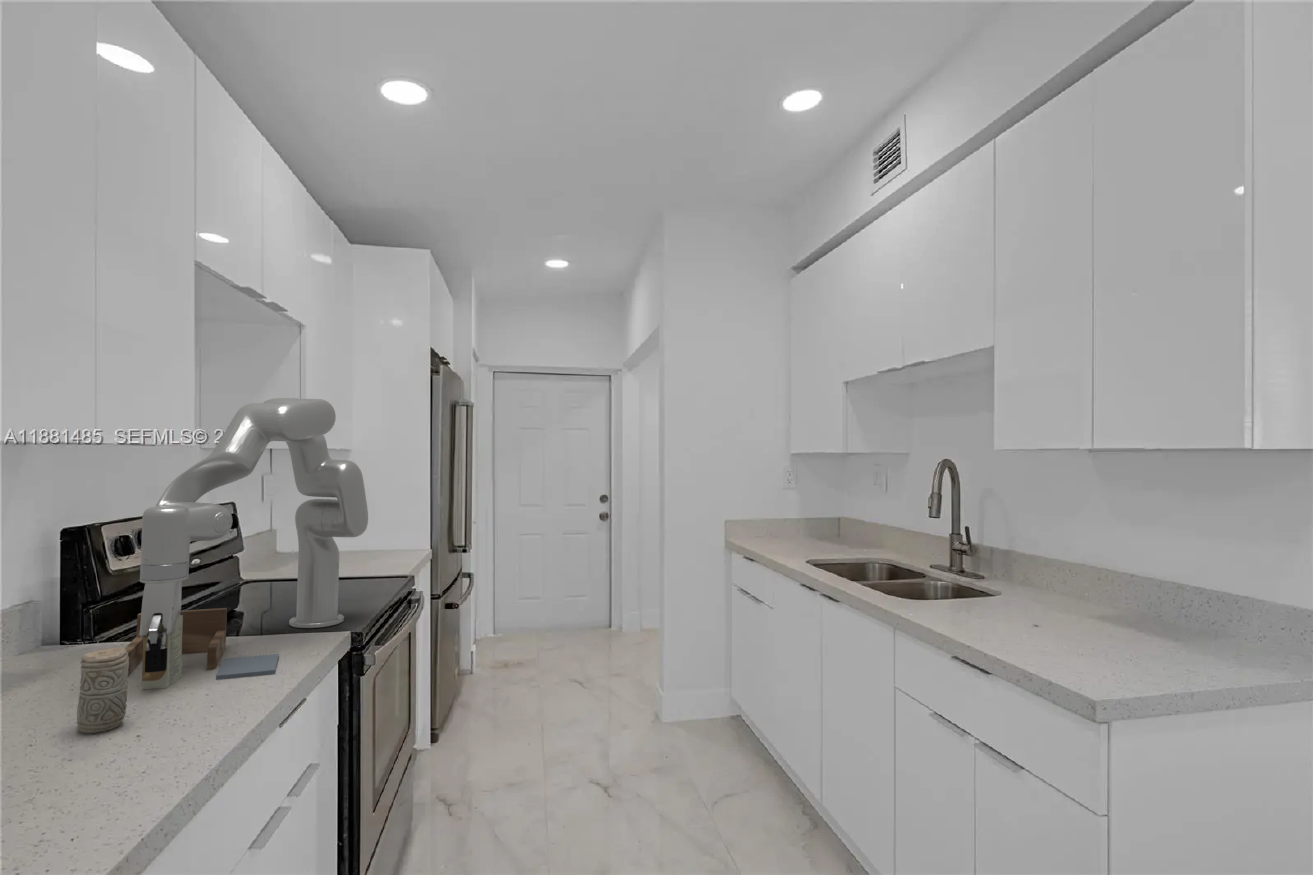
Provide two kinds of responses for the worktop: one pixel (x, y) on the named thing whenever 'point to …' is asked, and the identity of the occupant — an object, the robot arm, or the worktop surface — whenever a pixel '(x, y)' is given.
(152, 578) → the robot arm
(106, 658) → the carving
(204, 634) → the shelf bay
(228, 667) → the slate pad
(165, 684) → the skincare box
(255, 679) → the worktop surface
